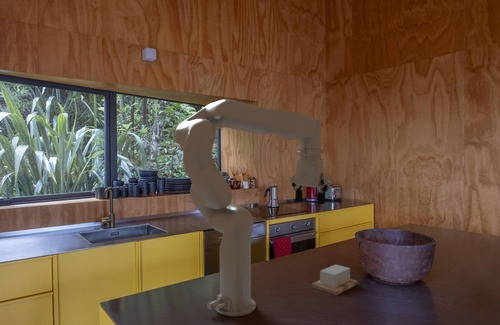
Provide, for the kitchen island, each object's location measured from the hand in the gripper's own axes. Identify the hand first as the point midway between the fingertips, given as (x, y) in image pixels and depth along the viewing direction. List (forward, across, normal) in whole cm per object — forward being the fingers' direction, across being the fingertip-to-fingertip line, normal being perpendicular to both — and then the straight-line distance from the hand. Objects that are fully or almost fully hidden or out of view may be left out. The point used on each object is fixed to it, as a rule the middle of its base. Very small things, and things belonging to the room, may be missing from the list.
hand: (309, 202), depth 123 cm
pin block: (+30, +6, +7) cm, 31 cm away
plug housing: (+29, +6, +7) cm, 30 cm away
